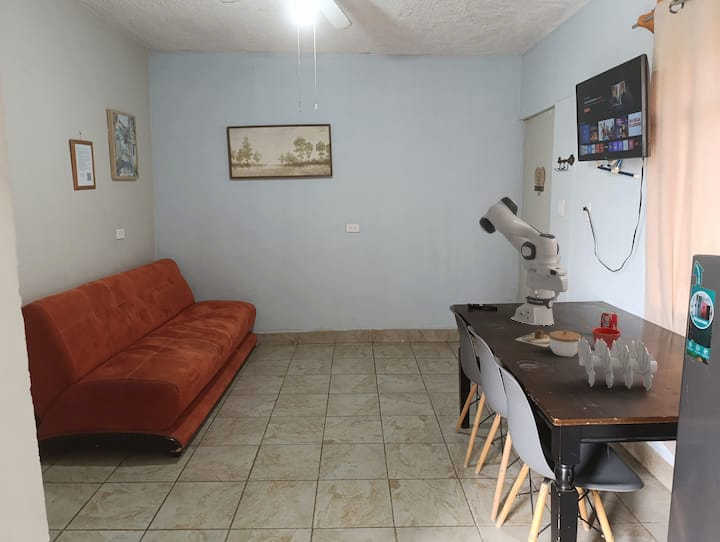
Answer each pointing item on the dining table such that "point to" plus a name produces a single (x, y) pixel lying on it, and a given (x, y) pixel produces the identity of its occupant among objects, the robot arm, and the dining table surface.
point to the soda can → (609, 320)
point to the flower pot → (606, 335)
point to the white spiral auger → (617, 360)
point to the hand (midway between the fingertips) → (545, 299)
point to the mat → (531, 343)
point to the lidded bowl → (564, 342)
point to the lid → (537, 337)
